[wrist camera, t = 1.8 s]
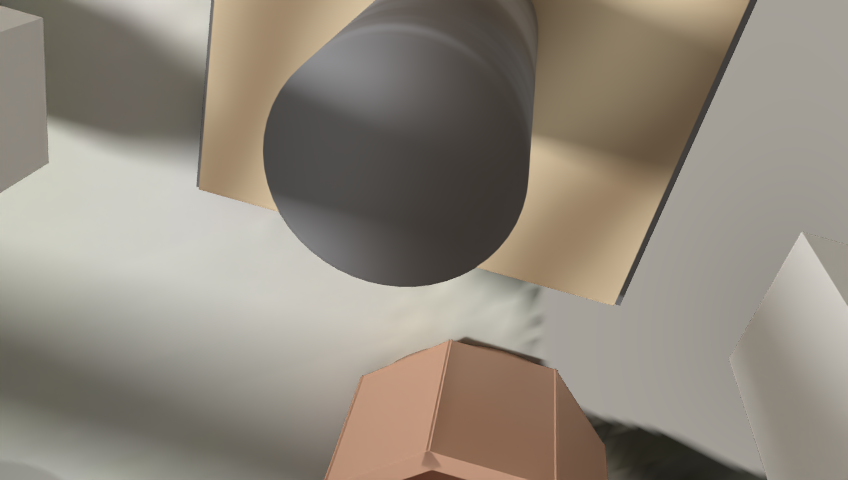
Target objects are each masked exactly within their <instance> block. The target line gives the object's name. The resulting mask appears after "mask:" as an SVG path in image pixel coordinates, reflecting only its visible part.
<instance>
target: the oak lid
mask: <svg viewBox="0 0 848 480" xmlns="http://www.w3.org/2000/svg"><path fill="white" fill-rule="evenodd" d="M749 1H750V0H214V11H213V23H212V35H211V47H210V60H209V72H208V84H207V96H206V108H205V121H204V133H203V145H202V157H201V169H200V182H199V189H200V190H203V191H207V192H210V193H214V194H217V195H221V196H224V197H228V198H232V199H235V200H239V201H242V202H246V203H249V204H253V205H257V206H260V207H264V208H267V209H271V210H274V211H278V212H279V213H280V214H281V216H282V217H283V219H284V221H285V222H286V224H287V225H288V227H289V228H290V229H291V230H292V232H293V233H294V234H295V235H296V236H297V238H298V239H299V240H300V241H301V242H302V243H303V244H304V245H305V246H306V247H307V248H308V249H309V250H311V251H312V252H313V253H314V254H316V255H317V256H318V257H320V258H321V259H322V260H323V261H325V262H327V263H328V264H330V265H332V266H333V267H335V268H336V269H338V270H340V271H342V272H345V273H347V274H349V275H351V276H353V277H356V278H359V279H362V280H365V281H368V282H373V283H377V284H382V285H389V286H398V287H416V286H425V285H432V284H436V283H440V282H444V281H448V280H450V279H453V278H456V277H458V276H461V275H463V274H465V273H467V272H469V271H471V270H472V269H474V268H476V267H477V268H481V269H484V270H488V271H491V272H495V273H499V274H502V275H506V276H509V277H513V278H516V279H520V280H523V281H527V282H531V283H534V284H538V285H541V286H545V287H548V288H552V289H556V290H559V291H563V292H566V293H570V294H573V295H577V296H580V297H584V298H588V299H591V300H595V301H598V302H602V303H605V304H609V305H613V306H614V304H615V302H616V300H617V298H618V295H619V293H620V291H621V289H622V286H623V284H624V282H625V280H626V277H627V275H628V273H629V271H630V268H631V266H632V264H633V262H634V259H635V257H636V255H637V253H638V250H639V248H640V246H641V244H642V241H643V239H644V237H645V235H646V232H647V230H648V228H649V226H650V223H651V221H652V219H653V217H654V214H655V212H656V210H657V208H658V205H659V203H660V201H661V199H662V196H663V194H664V192H665V190H666V187H667V185H668V183H669V181H670V178H671V176H672V174H673V172H674V169H675V167H676V165H677V163H678V160H679V158H680V156H681V154H682V151H683V149H684V147H685V145H686V142H687V140H688V138H689V136H690V133H691V131H692V129H693V127H694V124H695V122H696V120H697V118H698V115H699V113H700V111H701V109H702V106H703V104H704V102H705V100H706V97H707V95H708V93H709V91H710V88H711V86H712V84H713V82H714V79H715V77H716V75H717V73H718V70H719V68H720V66H721V64H722V61H723V59H724V57H725V55H726V52H727V50H728V48H729V46H730V43H731V41H732V39H733V37H734V34H735V32H736V30H737V28H738V25H739V23H740V21H741V19H742V16H743V14H744V12H745V10H746V8H747V5H748V3H749Z"/></svg>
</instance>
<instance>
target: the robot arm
mask: <svg viewBox="0 0 848 480" xmlns="http://www.w3.org/2000/svg"><path fill="white" fill-rule="evenodd" d="M47 163H49V161H48V134H47V108H46V81H45V55H44V28H43V18H42V17H39V16H35V15H32V14H28V13H25V12H21V11H18V10H14V9H11V8H7V7H3V6H0V193H1V192H2V191H4V190H6V189H7V188H9V187H10V186H12V185H14V184H15V183H17V182H19V181H20V180H22V179H23V178H25V177H27V176H28V175H30V174H31V173H33V172H35V171H36V170H38V169H39V168H41V167H43V166H44V165H46V164H47ZM729 362H730V365H731V368H732V371H733V374H734V377H735V380H736V384H737V386H738V389H739V393H740V396H741V399H742V402H743V405H744V408H745V412H746V415H747V418H748V421H749V424H750V427H751V430H752V433H753V436H754V440H755V443H756V445H757V449H758V452H759V455H760V458H761V461H762V464H763V467H764V471H765V474H766V477H767V480H848V245H847V244H844V243H840V242H837V241H833V240H829V239H826V238H823V237H819V236H816V235H812V234H808V233H805V232H801V234H800V235H799V237H798V239H797V241H796V242H795V244H794V246H793V248H792V249H791V251H790V253H789V255H788V256H787V258H786V260H785V262H784V264H783V265H782V267H781V269H780V270H779V272H778V274H777V276H776V278H775V279H774V281H773V283H772V284H771V286H770V288H769V290H768V291H767V293H766V295H765V297H764V298H763V300H762V302H761V304H760V305H759V307H758V309H757V311H756V312H755V314H754V316H753V318H752V319H751V321H750V323H749V325H748V326H747V328H746V330H745V332H744V333H743V335H742V337H741V339H740V340H739V342H738V344H737V345H736V347H735V349H734V351H733V352H732V354H731V356H730V358H729Z"/></svg>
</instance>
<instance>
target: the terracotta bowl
mask: <svg viewBox="0 0 848 480" xmlns="http://www.w3.org/2000/svg"><path fill="white" fill-rule="evenodd" d="M324 480H608V472H607V461H606V449H605V444H603V443H602V441H601V439H600V438H599V436H598V435H597V433H596V432H595V430H594V428H593V427H592V425H591V424H590V422H589V421H588V419H587V417H586V416H585V414H584V413H583V411H582V409H581V408H580V406H579V405H578V403H577V401H576V400H575V398H574V397H573V395H572V394H571V392H570V391H569V389H568V387H567V386H566V384H565V383H564V381H563V380H562V378H561V376H560V375H559V373H558V370H556V369H552V368H548V367H544V366H541V365H537V364H534V363H532V362H530V361H528V360H526V359H523V358H521V357H519V356H517V355H514V354H511V353H508V352H505V351H501V350H497V349H493V348H488V347H481V346H473V345H467V344H463V343H460V342H456V341H453V340H452V339H451V340H449V341H447V342H444V343H442V344H439V345H437V346H435V347H432V348H429V349H425V350H421V351H418V352H416V353H413V354H410V355H408V356H406V357H404V358H402V359H400V360H398V361H396V362H394V363H393V364H391V365H389V366H386V367H384V368H381V369H379V370H377V371H374V372H372V373H369V374H367V375H364V376H363V375H362V377H361V378H360V381H359V383H358V386H357V389H356V392H355V395H354V397H353V400H352V403H351V406H350V409H349V411H348V414H347V417H346V420H345V423H344V425H343V428H342V431H341V434H340V437H339V439H338V442H337V445H336V448H335V450H334V453H333V456H332V459H331V462H330V464H329V467H328V470H327V473H326V476H325V478H324Z"/></svg>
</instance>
